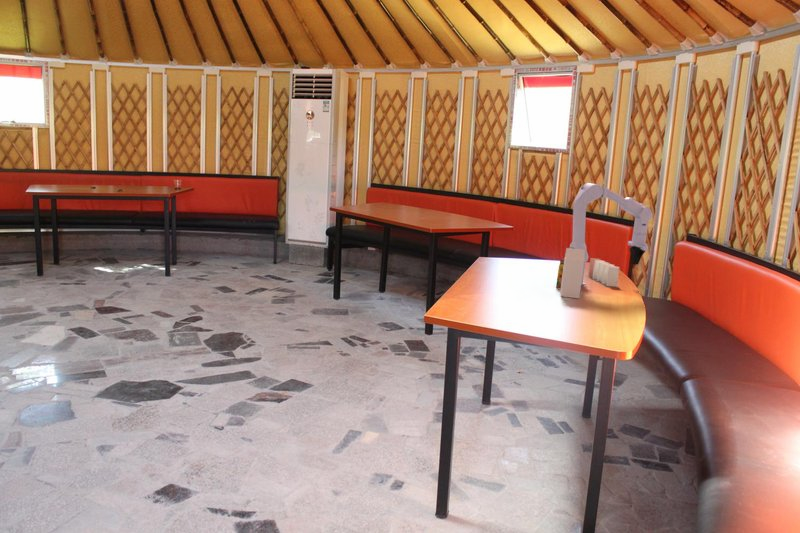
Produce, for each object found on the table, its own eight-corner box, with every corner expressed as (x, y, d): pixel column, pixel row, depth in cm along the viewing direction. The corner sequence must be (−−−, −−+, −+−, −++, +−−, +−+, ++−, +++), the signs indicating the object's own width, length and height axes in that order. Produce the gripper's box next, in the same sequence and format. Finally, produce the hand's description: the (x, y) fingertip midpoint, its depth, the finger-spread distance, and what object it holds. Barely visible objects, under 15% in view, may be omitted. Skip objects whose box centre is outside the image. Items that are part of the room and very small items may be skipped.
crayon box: (555, 287, 269) (559, 260, 266) (556, 286, 271) (559, 259, 269) (573, 290, 267) (577, 262, 264) (574, 288, 269) (577, 261, 267)
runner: (620, 288, 278) (620, 287, 278) (606, 287, 277) (606, 286, 277) (597, 277, 301) (597, 276, 301) (584, 276, 300) (584, 275, 300)
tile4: (602, 279, 293) (605, 261, 292) (593, 279, 293) (596, 260, 291) (601, 278, 295) (604, 260, 293) (592, 278, 294) (594, 260, 292)
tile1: (616, 286, 279) (619, 267, 278) (607, 285, 279) (610, 266, 277) (615, 285, 281) (618, 266, 279) (606, 285, 280) (608, 266, 278)
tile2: (611, 284, 284) (614, 265, 282) (602, 283, 283) (605, 264, 282) (610, 283, 285) (613, 264, 284) (601, 282, 285) (604, 264, 283)
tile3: (607, 281, 289) (609, 263, 287) (597, 281, 288) (600, 262, 287) (606, 281, 290) (608, 262, 288) (596, 280, 289) (599, 262, 288)
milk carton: (579, 298, 250) (585, 251, 247) (560, 296, 252) (566, 249, 248) (578, 295, 257) (584, 248, 254) (560, 293, 258) (565, 246, 255)
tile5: (598, 277, 298) (600, 259, 297) (589, 276, 297) (591, 258, 296) (597, 276, 299) (599, 258, 298) (588, 276, 299) (590, 258, 297)
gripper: (656, 236, 272) (652, 267, 275) (640, 231, 286) (635, 261, 289) (641, 235, 271) (636, 266, 274) (625, 230, 285) (621, 260, 288)
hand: (635, 264), depth 281 cm, fingers closed
